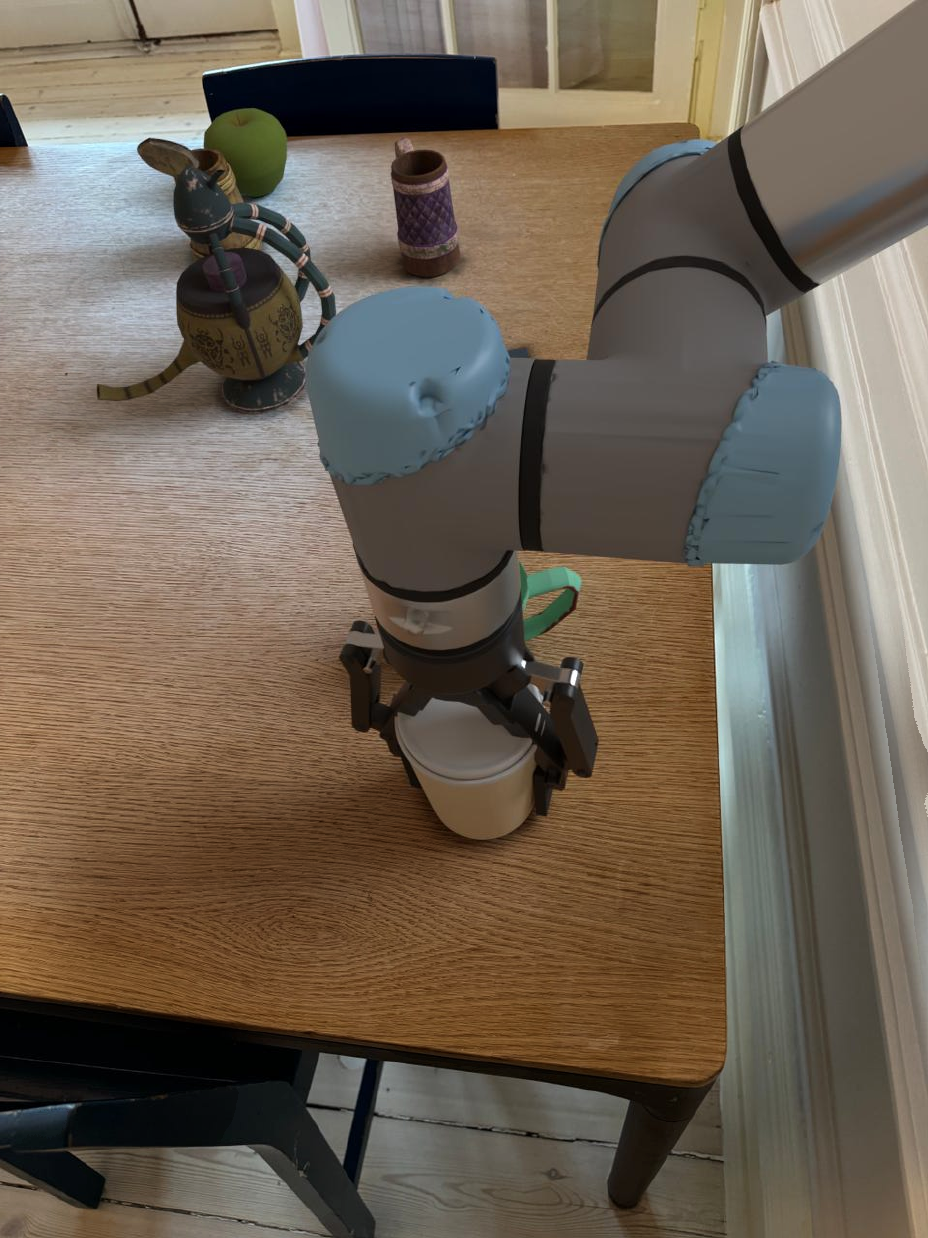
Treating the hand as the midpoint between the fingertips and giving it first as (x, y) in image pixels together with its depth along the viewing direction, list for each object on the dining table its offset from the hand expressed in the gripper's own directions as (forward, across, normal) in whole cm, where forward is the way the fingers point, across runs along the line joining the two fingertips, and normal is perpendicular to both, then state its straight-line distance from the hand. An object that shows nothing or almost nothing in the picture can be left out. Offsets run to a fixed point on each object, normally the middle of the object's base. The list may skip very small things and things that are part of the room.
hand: (482, 784), depth 61 cm
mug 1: (+1, -24, +65) cm, 69 cm away
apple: (+1, -52, +77) cm, 93 cm away
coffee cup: (+1, 0, 0) cm, 1 cm away
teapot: (+1, -38, +38) cm, 53 cm away
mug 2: (+1, -1, +13) cm, 13 cm away
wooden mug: (+1, -50, +61) cm, 78 cm away
